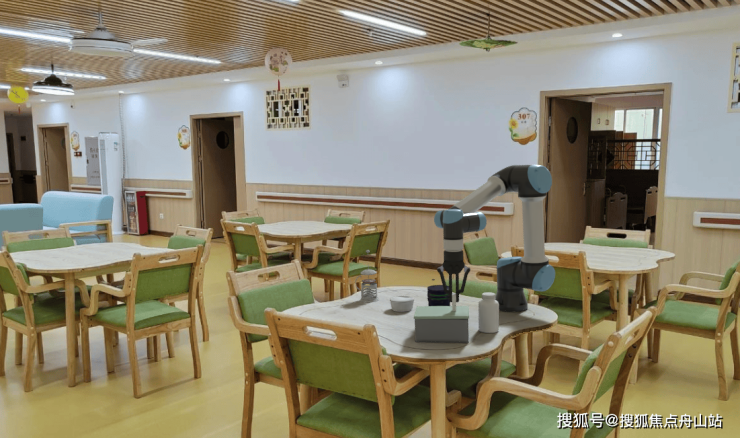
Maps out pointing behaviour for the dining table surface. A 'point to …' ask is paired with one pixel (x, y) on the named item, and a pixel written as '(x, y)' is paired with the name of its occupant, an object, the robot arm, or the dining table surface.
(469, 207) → the robot arm
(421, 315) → the box lid
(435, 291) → the storage jar
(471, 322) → the dining table surface
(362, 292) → the french press
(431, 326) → the storage box
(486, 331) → the pill bottle
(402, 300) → the ramekin
